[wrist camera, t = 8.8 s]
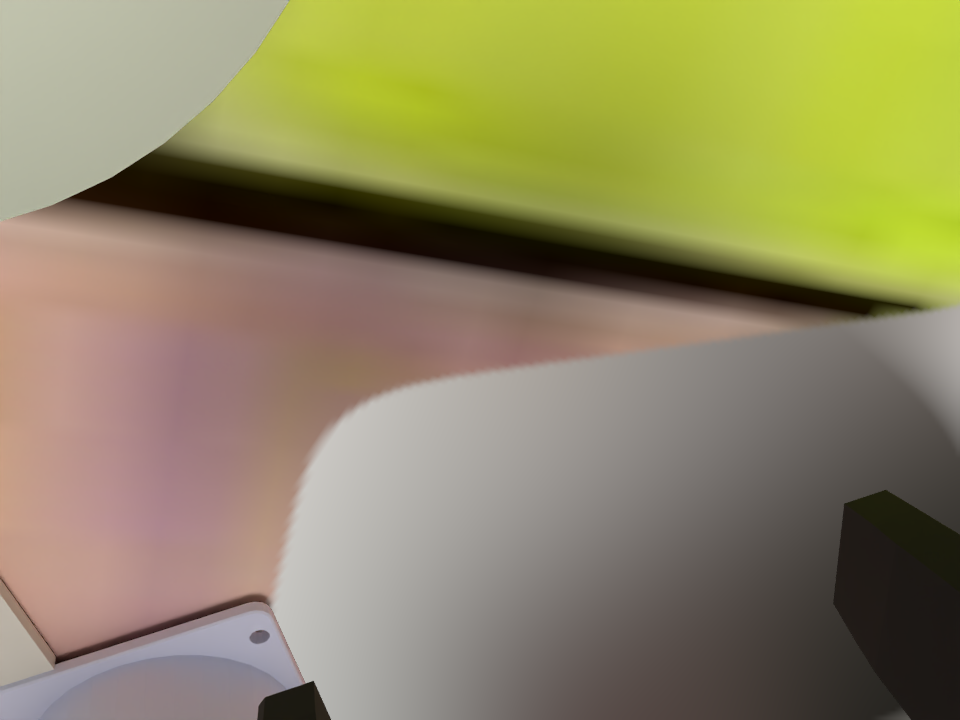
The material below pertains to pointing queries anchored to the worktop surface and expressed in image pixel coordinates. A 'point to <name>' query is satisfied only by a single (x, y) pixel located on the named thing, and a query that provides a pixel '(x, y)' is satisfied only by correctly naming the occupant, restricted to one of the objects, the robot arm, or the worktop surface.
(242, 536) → the worktop surface
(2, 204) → the lid
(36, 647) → the mat
